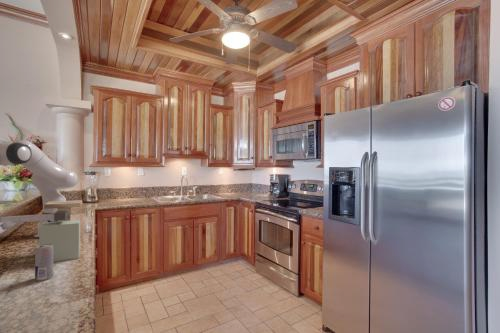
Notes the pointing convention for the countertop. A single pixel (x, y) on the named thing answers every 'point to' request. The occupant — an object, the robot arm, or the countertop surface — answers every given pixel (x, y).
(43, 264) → the energy drink
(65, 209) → the stand
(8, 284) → the countertop surface
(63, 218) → the hammer
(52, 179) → the robot arm
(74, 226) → the pale green box
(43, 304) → the countertop surface
